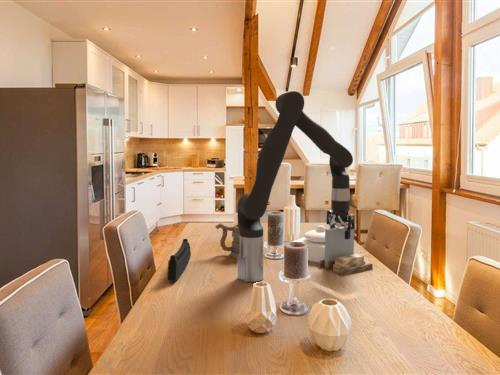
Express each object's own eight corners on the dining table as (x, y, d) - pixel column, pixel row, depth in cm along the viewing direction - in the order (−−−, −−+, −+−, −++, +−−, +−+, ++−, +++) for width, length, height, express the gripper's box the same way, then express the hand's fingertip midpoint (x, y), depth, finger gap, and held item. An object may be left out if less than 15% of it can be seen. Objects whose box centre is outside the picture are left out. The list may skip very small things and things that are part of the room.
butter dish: (328, 268, 180) (329, 231, 178) (292, 260, 191) (292, 226, 189) (345, 258, 194) (346, 224, 192) (311, 252, 205) (311, 220, 203)
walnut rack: (340, 279, 165) (340, 268, 164) (317, 269, 177) (317, 259, 176) (373, 271, 174) (373, 261, 173) (348, 263, 186) (349, 253, 185)
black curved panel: (174, 263, 156) (188, 224, 184) (165, 262, 156) (181, 224, 184) (177, 300, 163) (191, 257, 190) (169, 300, 163) (184, 257, 191)
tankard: (259, 251, 205) (259, 221, 204) (256, 259, 193) (256, 226, 191) (218, 250, 208) (218, 220, 206) (213, 257, 195) (213, 225, 193)
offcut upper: (341, 266, 168) (342, 260, 168) (335, 264, 171) (335, 258, 171) (363, 262, 174) (363, 256, 174) (356, 259, 178) (356, 253, 177)
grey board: (328, 268, 173) (329, 230, 172) (324, 267, 176) (325, 229, 174) (353, 263, 181) (354, 226, 179) (349, 262, 183) (350, 225, 181)
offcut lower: (339, 273, 168) (340, 266, 167) (333, 270, 171) (333, 264, 171) (365, 267, 175) (365, 261, 175) (358, 265, 178) (358, 259, 178)
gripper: (322, 197, 179) (321, 235, 181) (346, 201, 167) (345, 241, 169) (335, 196, 183) (335, 232, 185) (359, 200, 171) (359, 239, 173)
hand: (339, 237), depth 177 cm, fingers open, 8 cm apart
